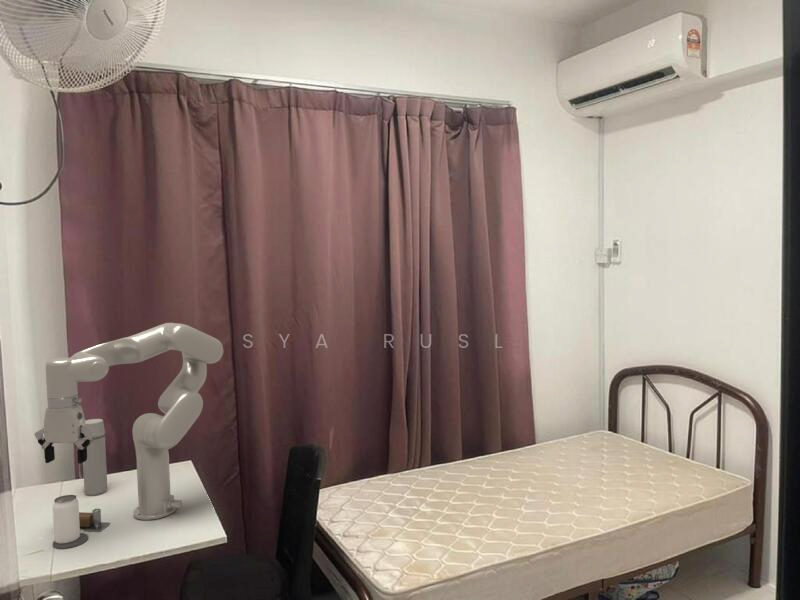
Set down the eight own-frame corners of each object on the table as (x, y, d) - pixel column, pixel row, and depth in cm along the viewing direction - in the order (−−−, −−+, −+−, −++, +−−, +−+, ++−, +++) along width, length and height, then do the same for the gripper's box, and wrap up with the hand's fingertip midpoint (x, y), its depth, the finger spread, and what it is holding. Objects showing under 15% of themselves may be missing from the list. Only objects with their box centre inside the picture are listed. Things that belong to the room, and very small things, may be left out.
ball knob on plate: (109, 524, 185) (109, 506, 184) (100, 531, 180) (99, 513, 179) (94, 524, 185) (93, 506, 185) (84, 531, 180) (83, 513, 180)
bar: (88, 527, 181) (88, 512, 180) (54, 525, 182) (53, 511, 182) (96, 521, 184) (95, 507, 184) (62, 520, 186) (61, 506, 185)
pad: (94, 534, 178) (94, 533, 178) (75, 549, 169) (75, 547, 169) (65, 534, 179) (65, 532, 179) (45, 548, 170) (45, 546, 170)
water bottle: (112, 487, 215) (108, 418, 213) (100, 496, 207) (97, 424, 205) (86, 488, 215) (82, 418, 213) (74, 496, 207) (70, 424, 205)
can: (51, 539, 174) (49, 498, 173) (76, 532, 179) (74, 492, 178) (57, 546, 170) (55, 505, 169) (83, 539, 174) (81, 498, 173)
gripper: (99, 399, 174) (102, 457, 175) (43, 399, 176) (46, 457, 177) (84, 405, 166) (87, 466, 168) (24, 405, 168) (28, 465, 169)
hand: (66, 461), depth 172 cm, fingers open, 9 cm apart
